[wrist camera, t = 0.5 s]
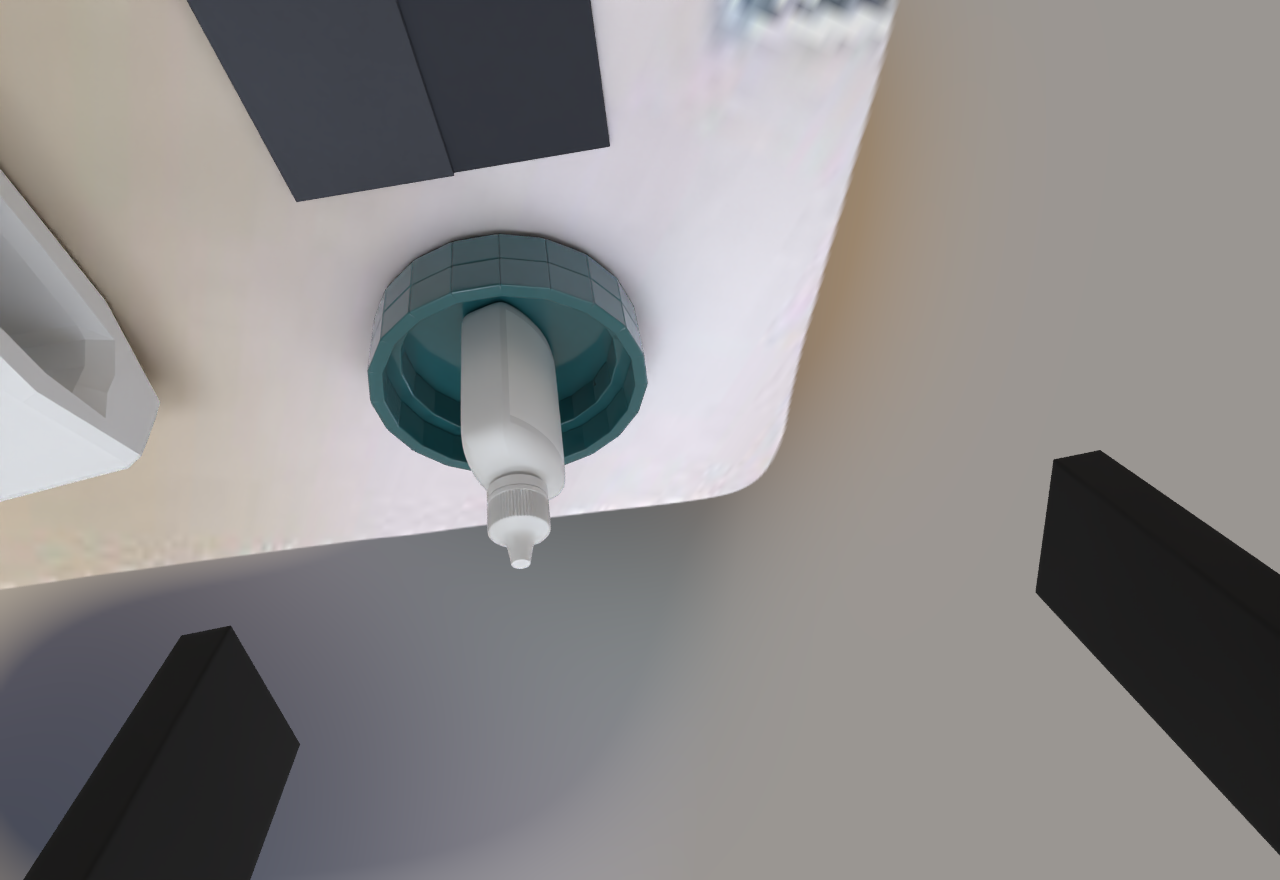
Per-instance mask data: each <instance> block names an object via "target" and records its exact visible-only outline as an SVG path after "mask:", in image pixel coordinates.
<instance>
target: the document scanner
mask: <svg viewBox="0 0 1280 880" xmlns="http://www.w3.org/2000/svg"><path fill="white" fill-rule="evenodd" d="M159 405H160V401H159V399H158V397H157V395H156V393H155V391H154V390H153V388H152V386H151V384H150V382H149V380H148V378H147V377H146V375H145V373H144V371H143V369H142V367H141V365H140V364H139V362H138V360H137V358H136V356H135V354H134V352H133V351H132V349H131V347H130V345H129V343H128V341H127V339H126V337H125V336H124V334H123V332H122V330H121V328H120V326H119V324H118V323H117V321H116V319H115V317H114V315H113V313H112V311H111V310H110V308H109V306H108V304H107V302H106V301H105V300H104V298H103V297H102V296H101V294H100V293H99V292H98V291H97V289H96V288H95V287H94V286H93V284H92V283H91V282H90V281H89V279H88V278H87V277H86V276H85V274H84V273H83V272H82V271H81V269H80V268H79V267H78V266H77V264H76V263H75V262H74V261H73V259H72V258H71V257H70V256H69V254H68V253H67V252H66V251H65V249H64V248H63V247H62V246H61V244H60V243H59V242H58V241H57V239H56V238H55V237H54V236H53V234H52V233H51V232H50V231H49V229H48V228H47V227H46V226H45V224H44V223H43V222H42V221H41V219H40V218H39V217H38V216H37V214H36V213H35V212H34V211H33V209H32V208H31V207H30V206H29V204H28V203H27V202H26V201H25V199H24V198H23V197H22V196H21V194H20V193H19V192H18V191H17V189H16V188H15V187H14V185H13V184H12V183H11V182H10V180H9V179H8V178H7V177H6V175H5V174H4V173H3V172H2V170H1V169H0V502H1V501H5V500H9V499H13V498H16V497H20V496H24V495H28V494H32V493H35V492H39V491H43V490H47V489H51V488H55V487H58V486H62V485H66V484H70V483H74V482H77V481H81V480H85V479H89V478H93V477H97V476H100V475H104V474H108V473H112V472H116V471H119V470H123V469H127V468H129V467H130V466H131V465H132V464H133V463H134V462H135V461H137V460H138V459H139V458H140V457H141V456H142V453H143V451H144V448H145V446H146V443H147V440H148V438H149V435H150V432H151V430H152V427H153V424H154V421H155V418H156V415H157V411H158V408H159Z"/></svg>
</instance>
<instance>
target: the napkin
mask: <svg viewBox="0 0 1280 880" xmlns="http://www.w3.org/2000/svg"><path fill="white" fill-rule="evenodd" d="M187 2H188V3H189V5H190V7H191V9H192V11H193V13H194V14H195V16H196V18H197V20H198V22H199V24H200V25H201V27H202V29H203V31H204V33H205V35H206V36H207V38H208V40H209V42H210V44H211V46H212V47H213V49H214V51H215V53H216V55H217V57H218V59H219V60H220V62H221V64H222V66H223V68H224V70H225V71H226V73H227V75H228V77H229V79H230V81H231V82H232V84H233V86H234V88H235V90H236V92H237V93H238V95H239V97H240V99H241V101H242V103H243V105H244V106H245V108H246V110H247V112H248V114H249V116H250V117H251V119H252V121H253V123H254V125H255V127H256V128H257V130H258V132H259V134H260V136H261V138H262V139H263V141H264V143H265V145H266V147H267V149H268V151H269V152H270V154H271V156H272V158H273V160H274V162H275V163H276V165H277V167H278V169H279V171H280V173H281V174H282V176H283V178H284V180H285V182H286V184H287V185H288V187H289V189H290V191H291V193H292V195H293V196H294V198H295V200H296V202H300V201H306V200H312V199H318V198H324V197H329V196H335V195H341V194H347V193H353V192H359V191H365V190H371V189H377V188H383V187H389V186H395V185H401V184H407V183H413V182H419V181H425V180H431V179H437V178H443V177H449V176H454V173H455V172H461V171H467V170H473V169H479V168H485V167H491V166H497V165H502V164H508V163H514V162H520V161H526V160H532V159H538V158H544V157H550V156H556V155H562V154H568V153H574V152H580V151H586V150H592V149H598V148H604V147H609V146H610V143H609V135H608V128H607V121H606V113H605V106H604V98H603V91H602V84H601V76H600V69H599V61H598V54H597V47H596V39H595V32H594V24H593V17H592V10H591V2H590V0H187Z"/></svg>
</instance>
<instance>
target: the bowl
mask: <svg viewBox="0 0 1280 880" xmlns="http://www.w3.org/2000/svg"><path fill="white" fill-rule="evenodd" d="M497 302H503V303H507V304H509V305H511V306H513V307H514V308H516V309H517V310H519V311H520V312H522V313H523V314H524V315H526V316H527V317H528V318H529V319H530V320H531V321H532V322H533V323H534V324H535V325H536V326H537V327H538V328H539V329H540V331H541V332H542V333H543V335H544V337H545V338H546V340H547V342H548V344H549V346H550V349H551V352H552V355H553V359H554V364H555V372H556V382H557V391H558V401H559V411H560V421H561V432H562V442H563V453H564V465H566V464H569V463H571V462H574V461H576V460H579V459H581V458H584V457H587V456H589V455H591V454H593V453H595V452H596V451H598V450H599V449H601V448H602V447H604V446H605V445H606V444H608V443H609V442H611V441H612V440H614V439H615V438H617V437H618V436H619V435H620V434H621V433H622V432H623V430H624V429H625V428H626V427H627V425H628V424H629V423H630V422H631V421H632V419H633V418H634V417H635V416H636V414H637V413H638V411H639V409H640V406H641V403H642V400H643V397H644V393H645V390H646V387H647V384H648V382H647V374H646V366H645V358H644V352H643V348H642V343H641V338H640V333H639V329H638V324H637V319H636V315H635V310H634V306H633V304H632V303H631V301H630V299H629V298H628V296H627V294H626V293H625V291H624V289H623V288H622V286H621V284H620V283H619V281H618V279H617V278H616V277H615V276H613V275H612V274H611V273H610V272H608V271H607V270H606V269H605V268H603V267H602V266H601V265H600V264H598V263H597V262H596V261H595V260H593V259H592V258H591V257H590V256H588V255H587V254H585V253H582V252H580V251H577V250H574V249H572V248H569V247H567V246H564V245H561V244H559V243H556V242H554V241H551V240H549V239H545V238H539V237H528V236H518V235H508V234H499V235H498V234H494V235H488V236H482V237H476V238H470V239H464V240H458V241H454V242H450V243H448V244H446V245H444V246H442V247H440V248H438V249H436V250H434V251H432V252H430V253H427V254H425V255H423V256H421V257H419V258H417V259H415V260H414V261H413V262H411V263H410V265H409V266H408V267H407V268H406V269H405V270H404V271H403V272H402V273H401V274H400V275H399V276H398V277H397V278H396V279H395V280H394V281H393V282H392V283H391V284H390V285H389V286H388V287H387V289H386V290H385V292H384V295H383V297H382V300H381V303H380V305H379V308H378V310H377V313H376V316H375V318H374V324H373V332H372V340H371V347H370V355H369V363H368V371H367V372H368V382H369V392H370V401H371V403H372V405H373V407H374V408H375V410H376V412H377V413H378V415H379V417H380V418H381V420H382V422H383V423H384V425H385V427H386V428H387V429H388V431H390V432H391V433H392V434H393V435H395V436H396V437H397V438H398V439H400V440H401V441H402V442H403V443H404V444H406V445H407V446H408V447H409V448H411V449H412V450H414V451H415V452H417V453H419V454H422V455H424V456H426V457H428V458H431V459H433V460H435V461H437V462H440V463H442V464H444V465H448V466H451V467H456V468H460V469H465V470H470V471H471V469H470V467H469V465H468V462H467V460H466V457H465V454H464V450H463V445H462V437H461V333H462V321H463V318H464V317H465V316H466V315H467V314H469V313H471V312H473V311H476V310H478V309H480V308H483V307H485V306H488V305H490V304H493V303H497Z"/></svg>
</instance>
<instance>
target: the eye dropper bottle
mask: <svg viewBox="0 0 1280 880" xmlns="http://www.w3.org/2000/svg"><path fill="white" fill-rule="evenodd" d="M461 437H462V445H463V450H464V454H465V457H466V460H467V462H468V465H469V467H470V469H471V471H472V472H473V474H474V476H475V477H476V479H477V480H478V481H479V483H480V484H481V485H482V486H483V487H484V489H485V490H486V491H487V529H488V536H489V537H490V539H491V540H492V541H493V542H495V543H496V544H498V545H501V546H504V547H507V549H508V553H509V556H510V560H511V564H512V566H513V567H514V568H518V569H522V568H526V567H528V566H529V565H530V563H531V556H532V550H533V545H535V544H538V543H540V542H541V541H543V540H544V539H545V538H546V537H547V536H548V535H549V533H550V530H551V526H550V512H549V500H550V499H552V498H554V497H556V496H557V495H559V494H560V493H561V491H562V490H563V488H564V485H565V465H564V453H563V442H562V432H561V421H560V411H559V401H558V391H557V382H556V372H555V364H554V359H553V355H552V352H551V349H550V346H549V344H548V342H547V340H546V338H545V337H544V335H543V333H542V332H541V331H540V329H539V328H538V327H537V326H536V325H535V324H534V323H533V322H532V321H531V320H530V319H529V318H528V317H527V316H526V315H524V314H523V313H522V312H520V311H519V310H517V309H516V308H514V307H513V306H511V305H509V304H507V303H503V302H497V303H493V304H490V305H488V306H485V307H483V308H480V309H478V310H476V311H473V312H471V313H469V314H467V315H466V316H465V317H464V318H463V321H462V333H461Z"/></svg>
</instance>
